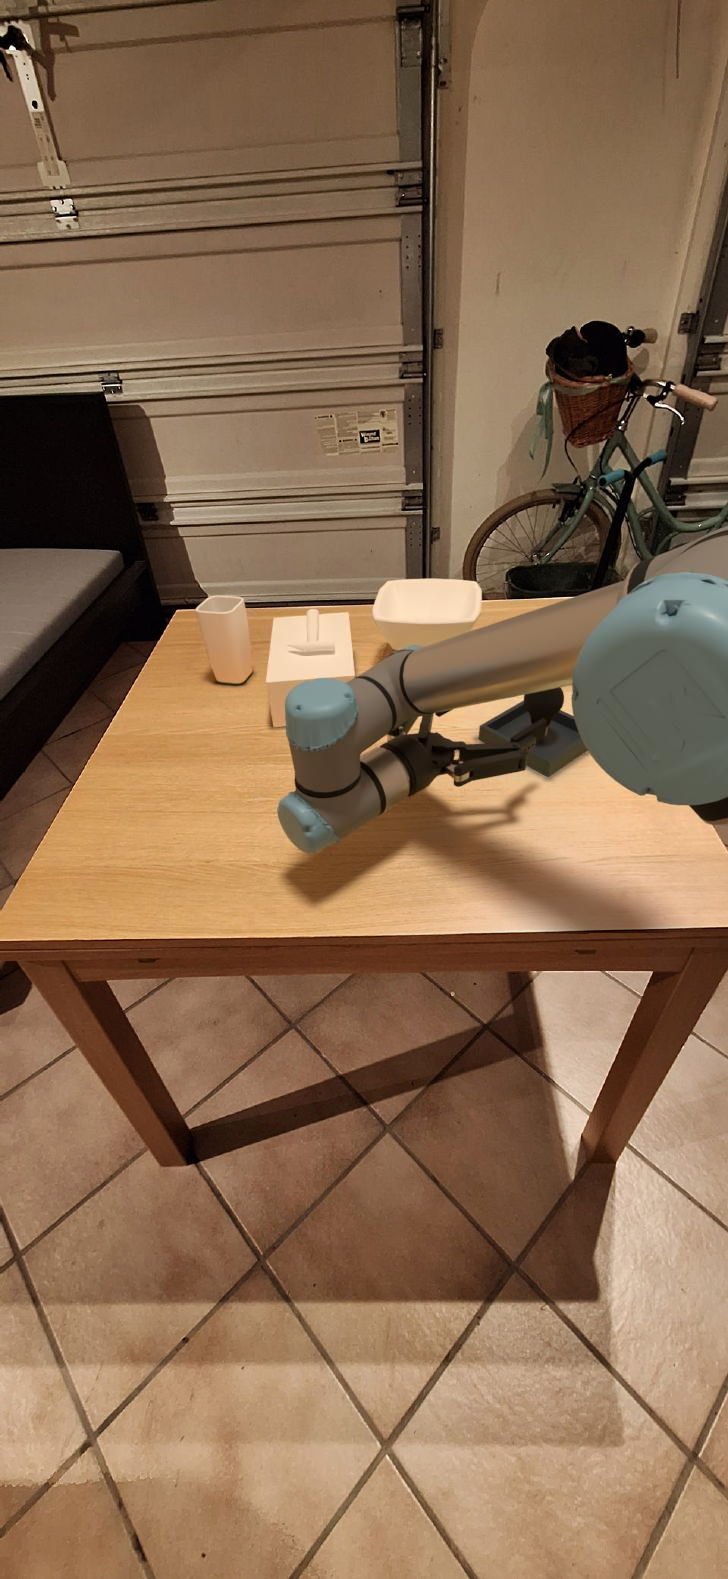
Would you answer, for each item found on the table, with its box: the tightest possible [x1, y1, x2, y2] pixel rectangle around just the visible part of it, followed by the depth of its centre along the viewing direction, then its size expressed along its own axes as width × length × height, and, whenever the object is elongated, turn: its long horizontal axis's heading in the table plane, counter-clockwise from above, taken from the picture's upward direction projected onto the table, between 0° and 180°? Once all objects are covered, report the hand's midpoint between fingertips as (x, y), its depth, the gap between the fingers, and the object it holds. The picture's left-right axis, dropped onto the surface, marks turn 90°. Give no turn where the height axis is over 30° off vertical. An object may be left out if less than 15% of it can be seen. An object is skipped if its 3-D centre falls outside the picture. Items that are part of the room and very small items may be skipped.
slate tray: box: [478, 699, 588, 778], centre depth 99 cm, size 14×13×3 cm
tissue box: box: [265, 608, 356, 728], centre depth 114 cm, size 14×25×11 cm, turn 3°
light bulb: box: [523, 687, 565, 736], centre depth 96 cm, size 6×6×10 cm
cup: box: [195, 595, 253, 685], centre depth 117 cm, size 7×7×15 cm
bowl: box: [371, 578, 483, 651], centre depth 115 cm, size 19×19×14 cm
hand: (504, 708), depth 89 cm, fingers open, 13 cm apart
